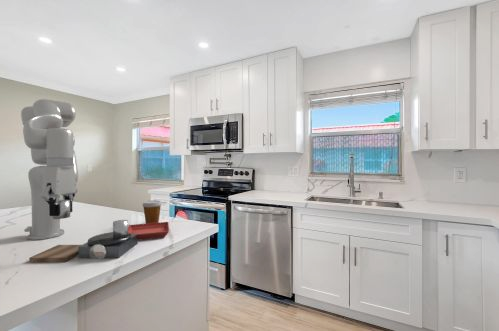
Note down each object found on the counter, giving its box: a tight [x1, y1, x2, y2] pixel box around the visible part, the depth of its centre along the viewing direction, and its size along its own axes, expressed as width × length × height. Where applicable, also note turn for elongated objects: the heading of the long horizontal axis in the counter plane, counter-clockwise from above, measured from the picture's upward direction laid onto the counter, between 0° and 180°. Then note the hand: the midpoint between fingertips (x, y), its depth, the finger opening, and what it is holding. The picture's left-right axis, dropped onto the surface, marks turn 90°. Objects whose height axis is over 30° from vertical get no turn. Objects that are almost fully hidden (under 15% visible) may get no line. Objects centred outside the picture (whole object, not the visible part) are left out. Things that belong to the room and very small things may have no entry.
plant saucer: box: [128, 221, 170, 241], centre depth 108 cm, size 18×18×3 cm
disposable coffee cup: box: [142, 200, 162, 224], centre depth 125 cm, size 10×10×12 cm
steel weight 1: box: [52, 199, 71, 220], centre depth 83 cm, size 5×5×6 cm
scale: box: [77, 231, 139, 260], centre depth 87 cm, size 14×15×6 cm
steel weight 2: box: [112, 219, 129, 239], centre depth 88 cm, size 5×5×6 cm
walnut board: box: [28, 244, 82, 263], centre depth 84 cm, size 12×12×2 cm
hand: (61, 213), depth 83 cm, fingers closed on steel weight 1, 5 cm apart
